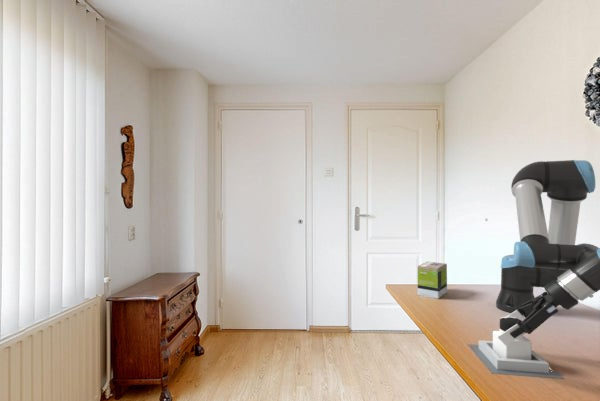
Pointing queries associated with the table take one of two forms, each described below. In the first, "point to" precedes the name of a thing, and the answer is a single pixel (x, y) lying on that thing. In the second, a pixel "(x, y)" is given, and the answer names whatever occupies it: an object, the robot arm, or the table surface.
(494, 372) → the collar plate
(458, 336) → the table surface
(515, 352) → the medicine bottle
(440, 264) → the tea box
